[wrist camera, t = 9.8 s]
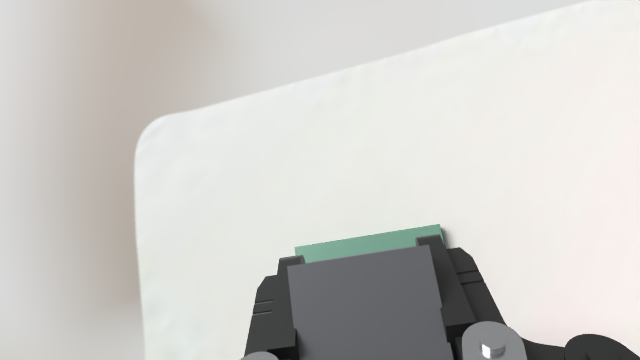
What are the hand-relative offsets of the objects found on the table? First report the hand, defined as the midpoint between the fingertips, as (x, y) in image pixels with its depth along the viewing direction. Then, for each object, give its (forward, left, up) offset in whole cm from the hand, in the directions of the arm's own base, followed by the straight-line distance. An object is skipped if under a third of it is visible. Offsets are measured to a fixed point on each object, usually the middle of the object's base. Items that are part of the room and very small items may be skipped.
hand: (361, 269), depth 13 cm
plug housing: (0, +2, -4) cm, 4 cm away
